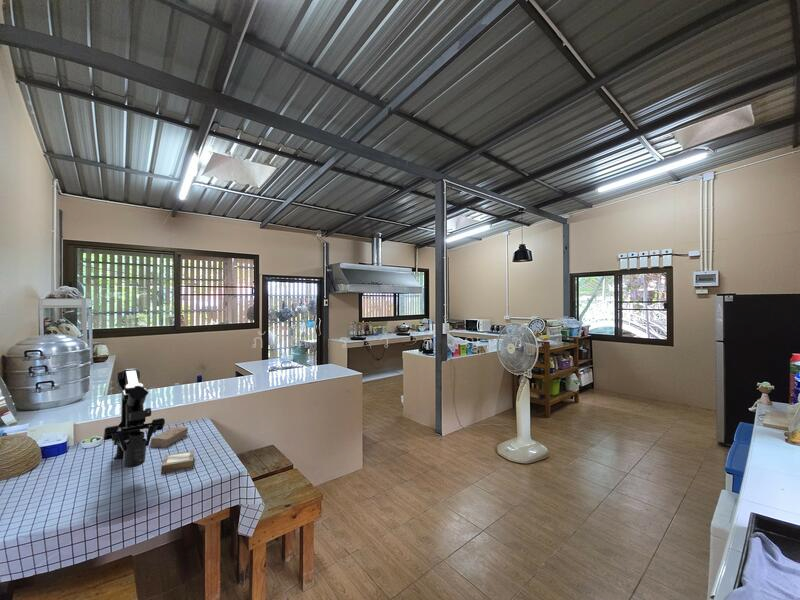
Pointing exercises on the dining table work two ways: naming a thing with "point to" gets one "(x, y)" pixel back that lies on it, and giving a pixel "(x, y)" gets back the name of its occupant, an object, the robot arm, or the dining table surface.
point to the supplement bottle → (135, 450)
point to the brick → (168, 437)
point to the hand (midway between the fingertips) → (136, 448)
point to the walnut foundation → (177, 461)
